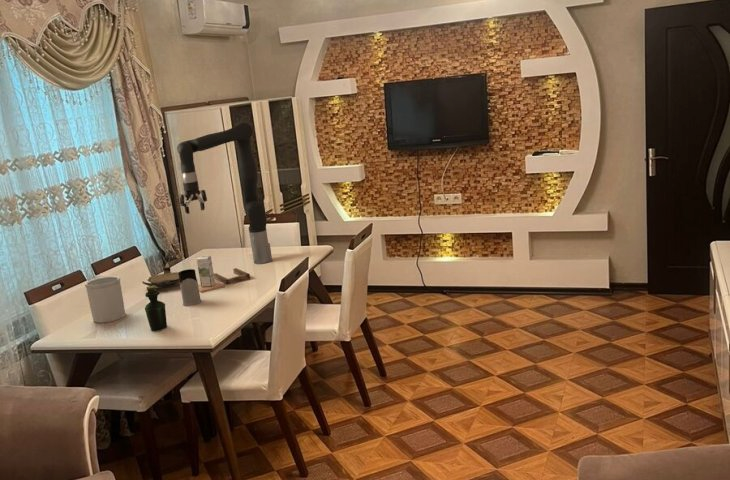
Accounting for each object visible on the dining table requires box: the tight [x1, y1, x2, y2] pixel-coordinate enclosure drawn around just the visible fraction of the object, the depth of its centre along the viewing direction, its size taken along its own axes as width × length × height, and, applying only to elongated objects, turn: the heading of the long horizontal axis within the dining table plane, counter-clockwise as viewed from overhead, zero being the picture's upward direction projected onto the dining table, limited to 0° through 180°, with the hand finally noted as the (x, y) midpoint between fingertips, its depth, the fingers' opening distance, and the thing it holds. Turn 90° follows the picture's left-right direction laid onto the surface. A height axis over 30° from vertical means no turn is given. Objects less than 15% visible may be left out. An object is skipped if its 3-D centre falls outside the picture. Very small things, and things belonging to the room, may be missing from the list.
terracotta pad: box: [198, 280, 226, 294], centre depth 350 cm, size 12×12×1 cm
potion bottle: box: [144, 285, 168, 332], centre depth 294 cm, size 8×8×18 cm
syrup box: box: [196, 254, 215, 287], centre depth 348 cm, size 6×6×14 cm
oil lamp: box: [141, 262, 180, 289], centre depth 364 cm, size 22×30×8 cm
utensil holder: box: [84, 275, 126, 324], centre depth 318 cm, size 15×15×18 cm
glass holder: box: [178, 268, 203, 307], centre depth 328 cm, size 9×14×15 cm, turn 15°
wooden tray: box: [214, 268, 251, 286], centre depth 361 cm, size 13×18×2 cm
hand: (195, 211), depth 372 cm, fingers open, 8 cm apart
